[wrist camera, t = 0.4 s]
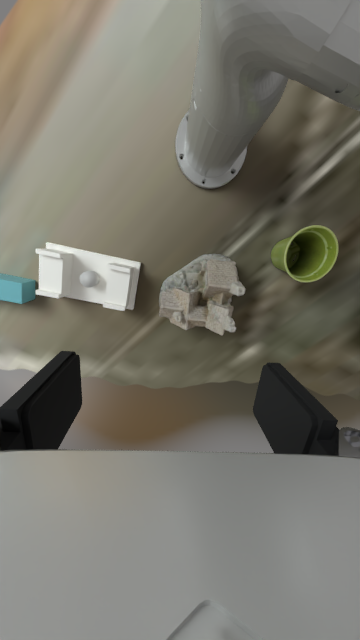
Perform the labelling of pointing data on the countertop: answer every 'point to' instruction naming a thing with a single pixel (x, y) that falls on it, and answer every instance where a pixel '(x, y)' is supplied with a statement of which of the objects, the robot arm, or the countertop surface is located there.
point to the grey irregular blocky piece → (202, 294)
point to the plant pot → (306, 253)
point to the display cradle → (87, 276)
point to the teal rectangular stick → (16, 289)
